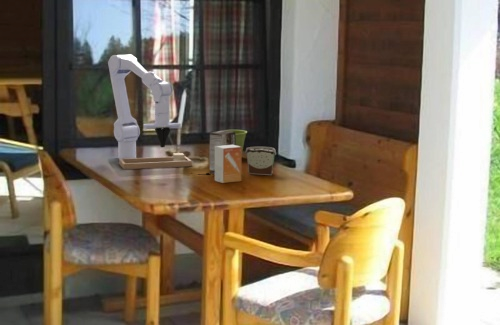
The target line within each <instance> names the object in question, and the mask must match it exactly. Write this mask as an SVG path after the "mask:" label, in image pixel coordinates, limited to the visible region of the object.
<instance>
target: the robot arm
mask: <svg viewBox="0 0 500 325" xmlns="http://www.w3.org/2000/svg"><path fill="white" fill-rule="evenodd" d="M107 64H108V70H109V76H110V77H109V78H110V82H111V88H112V93H113V98H114V103H115V109H116V114H117V119H116V120H115V121H114V123H113V135H114V138H115V139H116V142H117V143H118V144H117V146H118V147H117V149H118V153H117V156H118V160H119V159H128V158H137V141H138V138H139V137H140V134H141V130H140V126H139V124H138V121H137V119H136V118H134V117H133V116H132V112H131V107H130V103H129V98H128V93H127V86H126V81H125V78H126V77H127V75H129V74H130V73H131V72H132V73H134V74H135V75H136V76H137V77H139V78H141V83H142V84H143V85H145V86H146V87H147V88H148V89H150V91H151V94H152V97H153V101H154V122H153V123H143V130H155V133H156V136H157V137H158V141H159V147H160V148H165V146H166V142H167V139H168V136H169V134H170V132H171V130H170V129H182V127H181V125H182V123H180V122H170V96H171V95H172V93H173V86H172V84H171V82H170V81H164V80H163V79H162V78H161V77H159V76H158V75H156V73H155V71H148V70H146V69H145V68H144V67H143V66H142V65H141V63H140V62H139V61H138V58H137V57H136V56H134V55H133V54H131V53H129V54H117V55H116V54H113V55H111V56H110V58H109V60H108V61H107Z"/></svg>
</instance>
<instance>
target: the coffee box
mask: <svg viewBox="0 0 500 325" xmlns="http://www.w3.org/2000/svg"><path fill="white" fill-rule="evenodd" d="M227 130H228V129H223V130H218V131H213V132H209V135H208V136H209V174H210V175H215V146H223V145H236V138H235V132H234V131H227Z"/></svg>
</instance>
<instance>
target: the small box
mask: <svg viewBox="0 0 500 325" xmlns="http://www.w3.org/2000/svg"><path fill="white" fill-rule="evenodd" d="M241 149H242V147H240V146H236V145H223V146H215V171H214V172H215V174H214V181H215V182H217V183H222V184H225V183H235V182H238V183H239V182H242V157H241Z"/></svg>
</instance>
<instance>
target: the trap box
mask: <svg viewBox="0 0 500 325" xmlns="http://www.w3.org/2000/svg"><path fill="white" fill-rule="evenodd" d="M118 160H119V162H118V163H119V166H120V167H121V168H122V169H123V170H133V169H135V170H136V169H159V168H176V167H177V168H178V167H192V166H193V164H192V163H193V160H192V159H190V158H189V157H187V156H186V155H185V161H173V156H159V157H158V156H155V157H136V158H128V159H119V158H118Z"/></svg>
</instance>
